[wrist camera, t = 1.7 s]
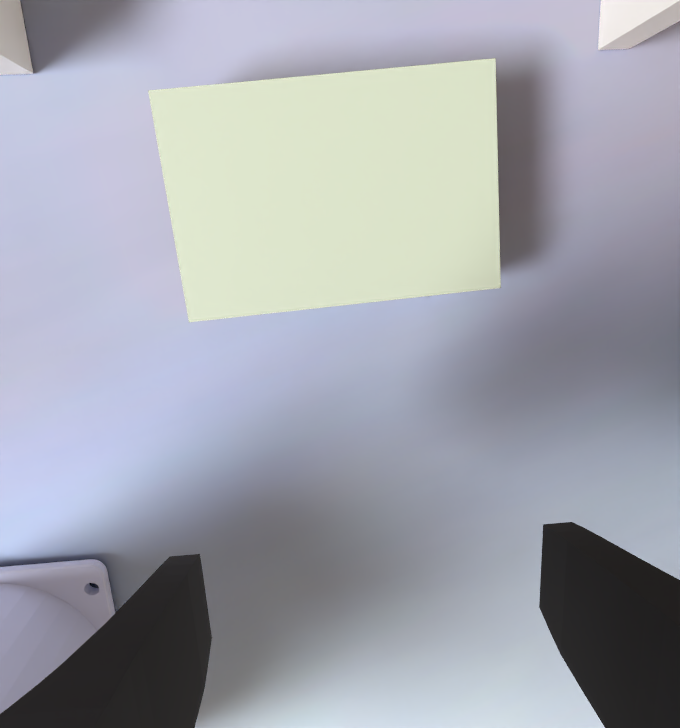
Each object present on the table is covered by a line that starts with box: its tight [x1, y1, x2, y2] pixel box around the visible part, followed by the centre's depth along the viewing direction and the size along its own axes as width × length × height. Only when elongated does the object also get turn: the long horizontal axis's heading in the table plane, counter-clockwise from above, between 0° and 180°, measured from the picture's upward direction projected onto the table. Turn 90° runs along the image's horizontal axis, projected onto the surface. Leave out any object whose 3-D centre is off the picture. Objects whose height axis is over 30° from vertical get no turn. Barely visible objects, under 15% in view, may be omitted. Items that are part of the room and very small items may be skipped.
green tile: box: [148, 58, 501, 322], centre depth 16 cm, size 6×9×3 cm, turn 96°
